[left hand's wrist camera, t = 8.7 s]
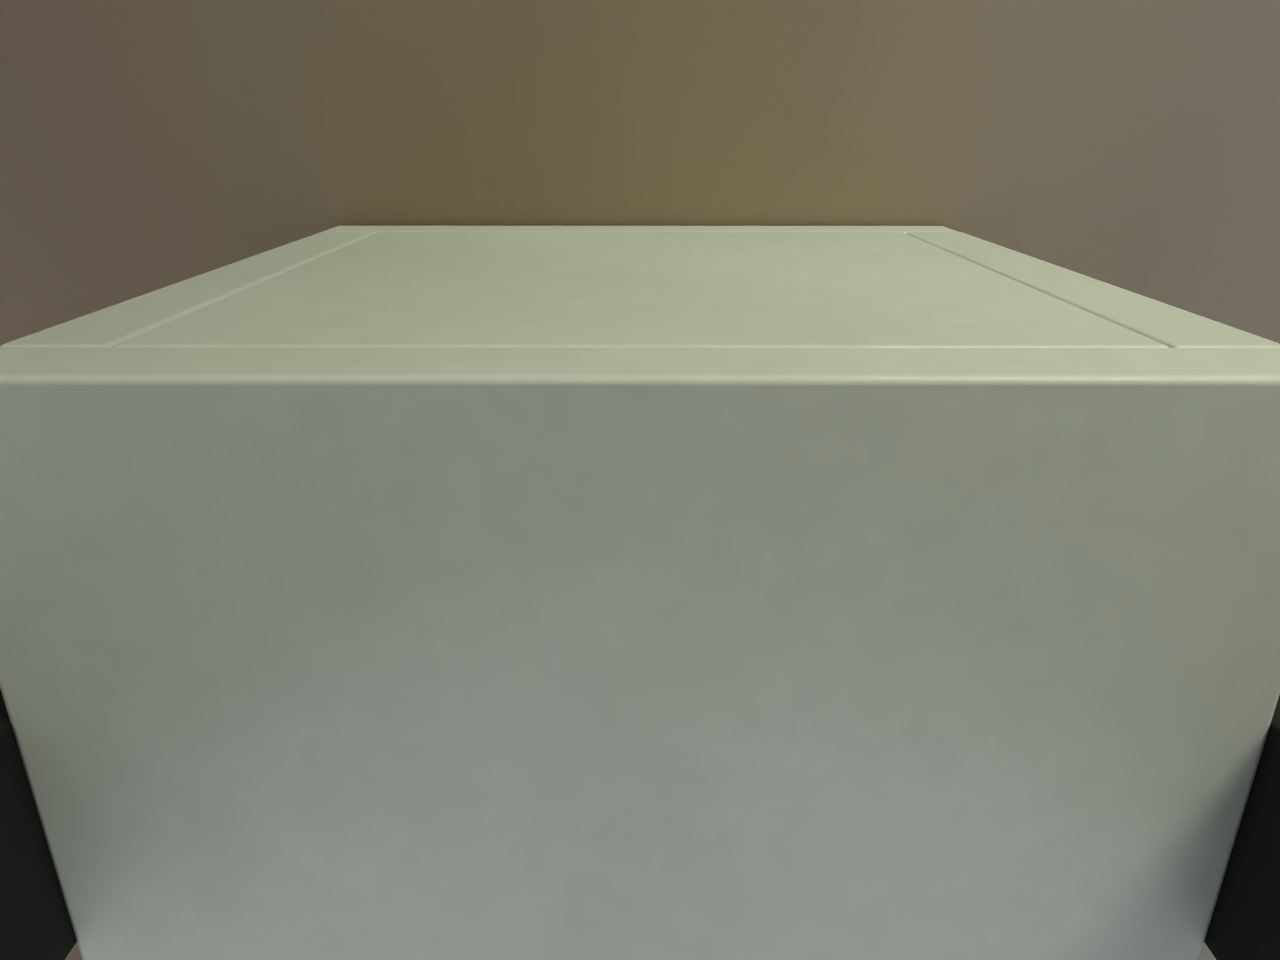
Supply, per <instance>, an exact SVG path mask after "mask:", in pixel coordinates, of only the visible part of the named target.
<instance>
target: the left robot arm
mask: <svg viewBox="0 0 1280 960" xmlns="http://www.w3.org/2000/svg"><path fill="white" fill-rule="evenodd" d="M76 942H77V940H76V937H75V933H74V930H73V927H72V923H71V920H70V917H69V913H68V910H67V907H66V903H65V900H64V897H63V894H62V890H61V887H60V884H59V880H58V877H57V874H56V870H55V867H54V864H53V861H52V857H51V854H50V851H49V847H48V844H47V841H46V837H45V834H44V831H43V827H42V824H41V821H40V818H39V814H38V811H37V808H36V804H35V801H34V798H33V794H32V791H31V788H30V785H29V781H28V778H27V775H26V771H25V768H24V765H23V761H22V758H21V755H20V751H19V748H18V745H17V742H16V738H15V735H14V732H13V728H12V725H11V722H10V718H9V715H8V712H7V709H6V705H5V702H4V699H3V695H2V692H1V689H0V960H64V959H65V958H66V957H67V955H68V954H69V952H70V951H71V949H72V948H73V946H74V945H75V943H76ZM1204 942H1205V943H1206V945H1207V946H1208V948H1209V949H1210V951H1211V952H1212V954H1213V955H1214V956H1215V958H1216V959H1217V960H1280V695H1279V698H1278V701H1277V704H1276V708H1275V711H1274V714H1273V718H1272V721H1271V724H1270V727H1269V731H1268V734H1267V737H1266V741H1265V744H1264V747H1263V750H1262V754H1261V757H1260V760H1259V764H1258V767H1257V770H1256V773H1255V777H1254V780H1253V783H1252V787H1251V790H1250V793H1249V796H1248V800H1247V803H1246V806H1245V810H1244V813H1243V816H1242V819H1241V823H1240V826H1239V829H1238V833H1237V836H1236V839H1235V842H1234V846H1233V849H1232V852H1231V856H1230V859H1229V862H1228V865H1227V869H1226V872H1225V875H1224V878H1223V882H1222V885H1221V888H1220V892H1219V895H1218V898H1217V901H1216V905H1215V908H1214V911H1213V915H1212V918H1211V921H1210V924H1209V928H1208V931H1207V934H1206V938H1205V941H1204Z"/></svg>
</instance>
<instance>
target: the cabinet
mask: <svg viewBox="0 0 1280 960" xmlns="http://www.w3.org/2000/svg"><path fill="white" fill-rule="evenodd" d="M0 689H1V692H2V695H3V699H4V702H5V705H6V709H7V712H8V715H9V718H10V722H11V725H12V728H13V732H14V735H15V738H16V742H17V745H18V748H19V751H20V755H21V758H22V761H23V765H24V768H25V771H26V775H27V778H28V781H29V785H30V788H31V791H32V794H33V798H34V801H35V804H36V808H37V811H38V814H39V818H40V821H41V824H42V827H43V831H44V834H45V837H46V841H47V844H48V847H49V851H50V854H51V857H52V861H53V864H54V867H55V870H56V874H57V877H58V880H59V884H60V887H61V890H62V894H63V897H64V900H65V903H66V907H67V910H68V913H69V917H70V920H71V923H72V927H73V930H74V933H75V937H76V940H77V943H78V946H79V950H80V953H81V956H82V960H1199V957H1200V954H1201V951H1202V947H1203V944H1204V941H1205V938H1206V934H1207V931H1208V928H1209V924H1210V921H1211V918H1212V915H1213V911H1214V908H1215V905H1216V901H1217V898H1218V895H1219V892H1220V888H1221V885H1222V882H1223V878H1224V875H1225V872H1226V869H1227V865H1228V862H1229V859H1230V856H1231V852H1232V849H1233V846H1234V842H1235V839H1236V836H1237V833H1238V829H1239V826H1240V823H1241V819H1242V816H1243V813H1244V810H1245V806H1246V803H1247V800H1248V796H1249V793H1250V790H1251V787H1252V783H1253V780H1254V777H1255V773H1256V770H1257V767H1258V764H1259V760H1260V757H1261V754H1262V750H1263V747H1264V744H1265V741H1266V737H1267V734H1268V731H1269V727H1270V724H1271V721H1272V718H1273V714H1274V711H1275V708H1276V704H1277V701H1278V698H1279V695H1280V344H1279V343H1276V342H1273V341H1271V340H1268V339H1265V338H1262V337H1259V336H1256V335H1253V334H1251V333H1248V332H1245V331H1242V330H1239V329H1236V328H1233V327H1231V326H1228V325H1225V324H1222V323H1219V322H1216V321H1213V320H1211V319H1208V318H1205V317H1202V316H1199V315H1196V314H1193V313H1191V312H1188V311H1185V310H1182V309H1179V308H1176V307H1174V306H1171V305H1168V304H1165V303H1162V302H1159V301H1156V300H1154V299H1151V298H1148V297H1145V296H1142V295H1139V294H1136V293H1134V292H1131V291H1128V290H1125V289H1122V288H1119V287H1116V286H1114V285H1111V284H1108V283H1105V282H1102V281H1099V280H1096V279H1094V278H1091V277H1088V276H1085V275H1082V274H1079V273H1076V272H1074V271H1071V270H1068V269H1065V268H1062V267H1059V266H1056V265H1054V264H1051V263H1048V262H1045V261H1042V260H1039V259H1036V258H1034V257H1031V256H1028V255H1025V254H1022V253H1019V252H1017V251H1014V250H1011V249H1008V248H1005V247H1002V246H999V245H997V244H994V243H991V242H988V241H985V240H982V239H979V238H977V237H974V236H971V235H968V234H965V233H962V232H957V231H955V230H952V229H949V228H946V227H943V226H337V227H334V228H331V229H328V230H325V231H323V232H320V233H317V234H314V235H312V236H309V237H306V238H303V239H300V240H297V241H295V242H292V243H289V244H286V245H283V246H280V247H277V248H275V249H272V250H269V251H266V252H263V253H260V254H258V255H255V256H252V257H249V258H246V259H243V260H241V261H238V262H235V263H232V264H229V265H226V266H224V267H221V268H218V269H215V270H212V271H209V272H207V273H204V274H201V275H198V276H195V277H192V278H190V279H187V280H184V281H181V282H178V283H175V284H173V285H170V286H167V287H164V288H161V289H158V290H156V291H153V292H150V293H147V294H144V295H141V296H139V297H136V298H133V299H130V300H127V301H124V302H122V303H119V304H116V305H113V306H110V307H107V308H105V309H102V310H99V311H96V312H93V313H90V314H88V315H85V316H82V317H79V318H76V319H73V320H71V321H68V322H65V323H62V324H59V325H56V326H53V327H51V328H48V329H45V330H42V331H39V332H36V333H34V334H31V335H28V336H25V337H22V338H19V339H17V340H14V341H11V342H8V343H6V344H3V345H1V346H0Z"/></svg>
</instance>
